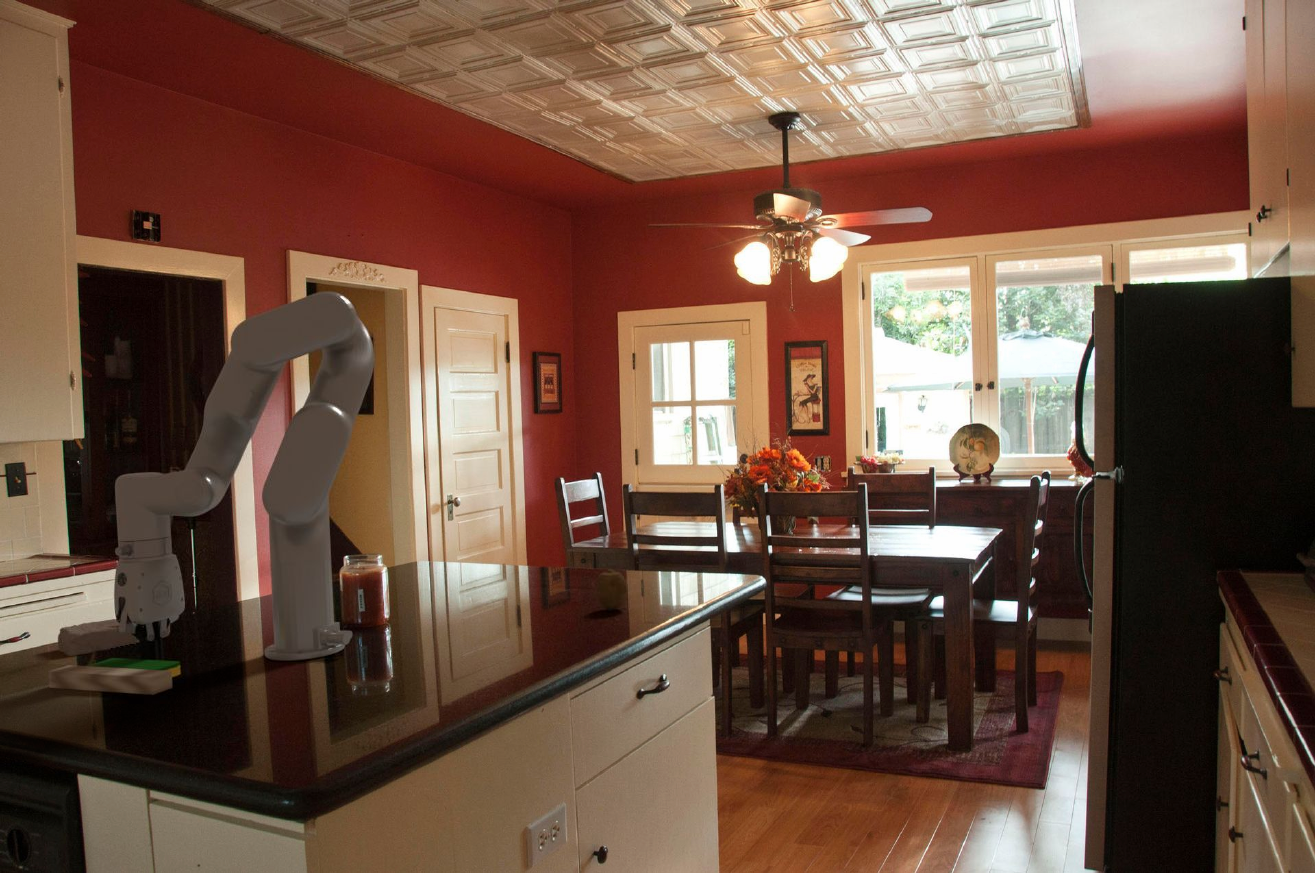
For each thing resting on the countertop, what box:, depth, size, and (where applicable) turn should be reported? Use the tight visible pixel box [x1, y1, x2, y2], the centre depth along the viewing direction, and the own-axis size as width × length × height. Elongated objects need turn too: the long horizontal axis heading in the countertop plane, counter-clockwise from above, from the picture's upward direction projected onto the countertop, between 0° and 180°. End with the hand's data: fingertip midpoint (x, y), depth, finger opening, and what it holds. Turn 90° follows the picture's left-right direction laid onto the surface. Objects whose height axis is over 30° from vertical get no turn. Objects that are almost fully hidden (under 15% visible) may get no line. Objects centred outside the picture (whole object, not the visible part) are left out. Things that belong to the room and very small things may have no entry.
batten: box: [48, 664, 173, 696], centre depth 145 cm, size 20×4×2 cm, turn 72°
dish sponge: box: [87, 657, 181, 678], centre depth 151 cm, size 7×14×2 cm, turn 72°
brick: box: [57, 618, 171, 657], centre depth 176 cm, size 17×8×5 cm, turn 137°
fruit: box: [594, 568, 628, 612], centre depth 187 cm, size 6×6×8 cm
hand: (152, 663), depth 156 cm, fingers closed
